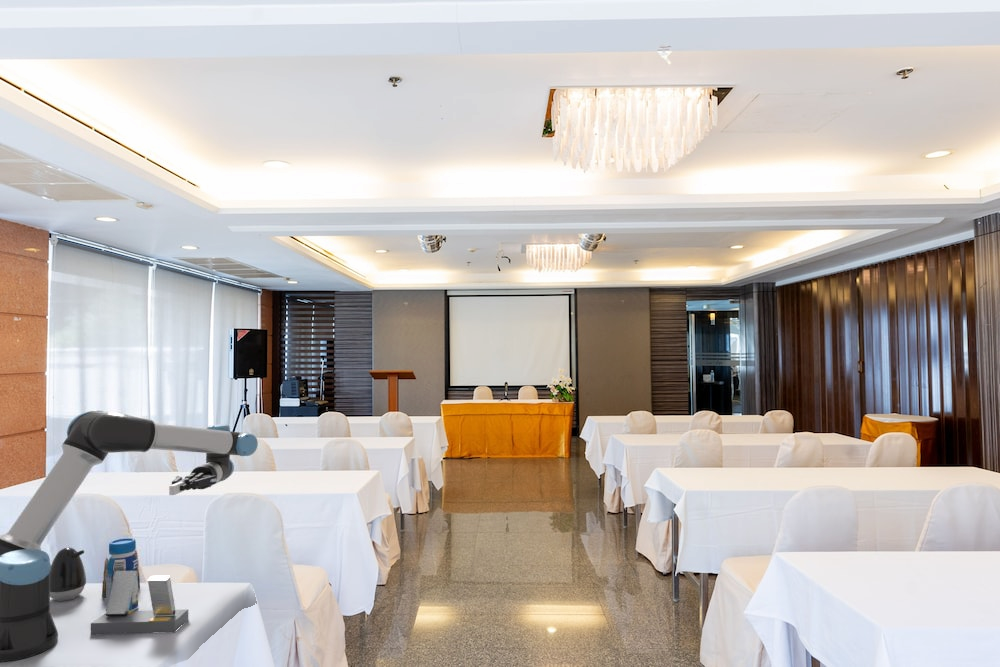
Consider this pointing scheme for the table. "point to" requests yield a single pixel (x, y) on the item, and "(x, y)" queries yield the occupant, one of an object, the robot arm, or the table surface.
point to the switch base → (139, 623)
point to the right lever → (161, 595)
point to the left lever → (121, 593)
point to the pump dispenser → (67, 575)
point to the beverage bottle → (122, 566)
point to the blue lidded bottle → (105, 579)
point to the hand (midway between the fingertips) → (171, 490)
